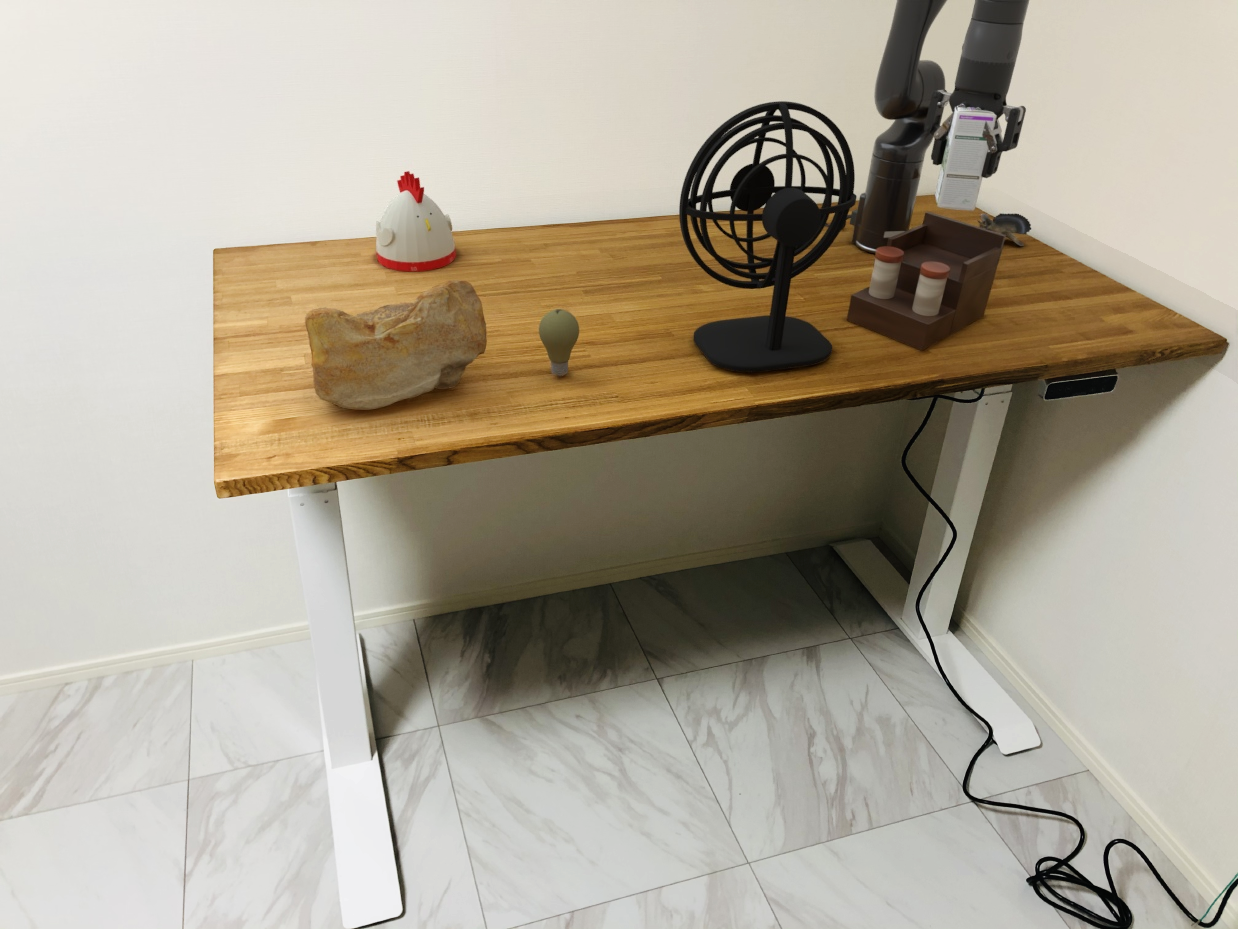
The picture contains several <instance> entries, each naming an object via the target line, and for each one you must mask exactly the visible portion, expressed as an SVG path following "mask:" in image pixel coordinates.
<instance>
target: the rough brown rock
mask: <svg viewBox="0 0 1238 929" xmlns="http://www.w3.org/2000/svg"><path fill="white" fill-rule="evenodd" d="M483 308H484V307H483V302H482V300H481V297H480V296H479V295H478V293H477V291H476V290H475V288H474V286H473V283H471V282H470V281H467V280H463V279H451V280H448V281H445V282H441V283H437V284H435V285H433V286H432V287H431V288H429V289H427V290H425V291H423V292H421V293H420V294H419V295H418V296H417V297H416V299H415V300H414V301H413V302H399V303H393V304H386V305H383V306H379V307H378V308H376V309H372V310H368V311H364V312H362V313H358V314H356V315H353V314H349V313H347V312H345V311H343V310H340V309H338V308H337V309H336V308H330V307H318V308H312V309H311V310H309V311H308V312H307V313H306V315H305V316H304V324H305V329H306V332H307V335H308V336H307V337H308V343H309V348H310V353H311V368H312V373H313V374H312V376H313V378H312V379H313V389H314V391H315V395H316V396H317V397H318V398H319V399H320V400H322V401H323V402H327V403H330V404H334V405H337V406H338V407H340V408H343V409H348V410H360V411H361V410H366V411H370V410H376V409H381V408H384V407H388V406H391V405H393V404H395V403H398V402H400V401H403V400H406V399H412V398H417V397H419V396H420V395H423V394H426V393H429V392H431V391H433V390H434V389H438V390H445V389H452V388H455V387H456V386H457V385H458V384H459V383H460V381H461V380H462V377H463V375H464V372H465V371H466V368H467V366H469V365H470V364H472V363H473V362H474V360H475V359H477V357H478V356H481V355H483V354H485V352H486V349H487V343H488V338H487V323H486V320H485V315H484V309H483Z"/></svg>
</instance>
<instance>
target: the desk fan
mask: <svg viewBox="0 0 1238 929" xmlns="http://www.w3.org/2000/svg"><path fill="white" fill-rule="evenodd" d="M777 111H779V113H780V115H779V114H775V113H776V112H777ZM790 111H798V112H801V113H805V114H808V115H811V116H813V117H815V118H816V119H818V120H819V121H820V122H822V123H823V124H824V125H825V126H826V127H827V128H828V129H829V130H830V132H831V133H832V134H833V135H834V137H835V139H836V141H837V143H838V145H839V147H840V150H841V153H842V156H841V154H840V152H839V150H838V149H837V148H836V146H835V144H834V143H833V142H832V141H831V140H830V139H829V138H828V137H827V136H826V135H824V134H823V133H821V132H819V130H817V129H815V128H813V127H810V126H809V125H807V124H806V123H804V122H802V121H800V120H799V119H796V118H794V117H791V114H790ZM763 113H765V114H764V115H761V116H757V115H760V114H763ZM754 116H757V117H754ZM753 117H754V118H753ZM750 118H751V119H750ZM747 119H748V120H747ZM745 120H746V121H745ZM760 124H761V125H760ZM758 125H760V127H758V128H755V129H753V130H751V131H749V132H748V133H746V134H744V135H743V136H742V137H740V138H739V139H737V140H736V141H734V143H733V144H731V145H730V146H729V147H728V148H727V149H726V150H725V151H724V153H722V155H721V156H720V157H719V159H717V161H716V163H715V165H714V166H713V167H712V169H711V171H710V173H709V175H708V177H707V179H706V181H705V184H704V187H703V190H702V192H701V193H702V194H698V193H699V188H700V184H701V182H702V179H703V176H704V174H705V172H706V170H707V168H708V166H709V164H710V163H711V161H712V160H713V159H714V157H715V156H716V154H717V153H718V152H719V151H720V149H721V148H722V147H723V146H724V145H725V144H726V143H727V142H729V141H730V140H731V139H732V138H734V137H735V136H736V135H738V134H740V133H741V132H743V131H745V130H747V129H749V128H751V127H755V126H758ZM779 130H784V140H785V142H784V141H783V140H780V139H778V138H774V137H767V133H770V132H774V131H779ZM793 130H796V131H797V130H798V131H802V132H805V133H808V134H809V135H810V136H811V137H812V138H813V139H814V141H815V142H816V143H817V145H818V148H819V149H820V151H821V153H822V156H823V159H824V162H825V168H826V169H825V170H826V171H825V170H824V169H823V168H822V166H821V165H820V164H818V162H816V161H815V160H813V159H811V158H810V157H808V156H806V155H803V154H800V153H799V154H798V152H797V151H796V150H795V149H794V132H793ZM764 143H774V144H779V145H781V146H783V147H785V153H781V154H777V155H773V156H771V157H769V158H766V159H764V160H763V161H761V156H762V152H763V148H764ZM753 144H756V145H755V149H754V153H753V160H752V163H748V164H746V165H744V166H743V167H742V168H740V169H739V170H738V171H737V172H736V173H735V175H733V178H732V179H731V182H730V186H729V189H724V190H718V191H714V188H715V183H716V181H717V178H718V176H719V174H720V172H721V170H722V169H723V167H724V166H725V165H726V163H727V162H728V161H729V160H730V159H731V157H733V156H734V155H735V154H737V153H738V152H739V151H740V150H742V149H744V148H746V147H749V146H750V145H753ZM831 155H832V157H833V159H834V161H835V165H836V168H837V172H838V176H839V177H838V178H839V179H838V180H839V188H835V187H834V186H835V185H834V184H835V172H834V170H835V169H834V164H833V159H832V157H831ZM842 157H843V158H842ZM794 159H795V160H796V163H797V165H798V168H799V173H800V185H793V177H794V176H793V173H794ZM781 160H785V176H784V177H785V178H784V185H776V183H775V182H776V181H775V176H774V174H773V172H772V170H771V168H770V167H769V166H768V165H771V163H774V162H777V161H781ZM843 160H844V161H843ZM803 161H806V162H807V163H810V164H811V165H812V166H814V167H815V168H816V169H817V171H818V172H819V174H820V175H821V177H822V179H823V182H824V184H825V187H824V186H811V185H810V186H809V185H807V186H806V184H807V183H806V180H807V179H806V171H805V170H806V169H805V167H804V162H803ZM855 175H856V174H855V163H854V158H853V155H852V151H851V147H850V145H849V143H848V141H847V138H846V136H845V135H844V133H843V132H842V131H841V129H840V128H839V127H838V126H837V124H836V123H835V122H834V121H832V120H831V118H829V117H828V116H827V115H826V114H824V113H822V112H821V111H819V110H817V109H815V108H813V107H811V106H809V105H806V104H803V103H800V102H794V101H786V100H785V101H782V100H781V101H780V100H779V101H770V102H765V103H760V104H756V105H754V106H751V107H748V108H746V109H744V110H741V111H740V112H738V113H736V114H735V115H733V116H731V117H729V118H728V119H727V120H726V121H725V122H723V123H722V124H721V125H719V126H718V127H717V128H716V129H715V130H714V131H713V132H712V133H711V134H710V135H709V136H708V137H707V138H706V140H705V141H704V143H703V144H702V145H701V146H700V148H699V149H698V151H697V152H696V153H695V155H694V157H693V159H692V161H691V163H690V165H689V167H688V169H687V172H686V175H685V177H684V179H683V183H682V187H681V192H680V198H679V206H678V207H679V208H678V209H679V211H678V216H679V224H680V225H679V226H680V231H681V236H682V239H683V242H684V244H685V247H686V249H687V250H688V253H689V255H690V256H691V258H692V259H693V260H694V261H695V263H696V264H697V265H698V266H699V267H700V268H701V269H702V270H703V271H704V272H705V273H706V274H707V275H708V276H710V277H711V278H713V279H714V280H716V281H717V282H720V283H721V284H723V285H726V286H730V287H733V288H737V289H744V290H745V289H746V290H760V289H766V288H770V287H773V290H772V298H771V304H770V313H769V315H757V316H749V317H739V318H731V319H722V320H721V319H720V320H715V321H711V322H707V323H705V324H703V325H700V326H699V327H697V328H696V329H695V331H694V332H693V343H694V344H695V346H696V347H697V348H698V349H699V350H700V352H701V353H702V354H703V355H704V358H706V359H707V361H708V362H710V364H712V365H714V366H715V367H717V368H720V369H724V370H727V371H731V372H736V373H737V372H739V373H763V372H771V371H780V370H786V369H795V368H802V367H808V366H815V365H817V364H820V363H823V362H825V361H827V360H829V358H830V357H831V355H832V352H833V345H832V342H831V341H830V340H829V339H828V338H827V337H826V336H824V334H822V332H820V331H819V330H818V329H817V328H816V327H815V326H814V325H812V324H811V323H810V322H808V321H806V320H804V319H801V318H798V317H793V316H788V315H787V310H788V302H789V295H790V289H791V283H792V282H791V281H792V279H794V278H796V277H797V276H799V275H800V274H802V273H804V272H805V271H806V270H808V269H809V268H810V267H812V266H813V265H814V264H815V263H816V262H817V261H818V260H820V259H821V257H823V255H824V254H825V253H826V252H827V251H828V250H829V248H830V247H831V246H832V244H833V243H834V241H835V240H836V238H837V237H838V236H839V234H840V232H841V231H842V229H841V228H842V227H843V225H844V222H845V220H846V218H847V215H849V212H850V209H851V208H853V207H854V206H855V205H856V202H857V195H856V194H855V193H854V191H855ZM775 185H776V186H775ZM808 194H815V195H816V194H817V195H824V197H823V202H822V205H821V207H819V205H818V204H817V203H816V202H815V200H813V199H812V197H810V196H809V195H808ZM833 196H834V197H838V200H837V203H836V204H835V205H832V203H833ZM723 198H730V200H731V203H730V207H729V212H728V213H727V212H715V211H714V207H713V200H716V199H723ZM697 204H699V209H697ZM762 207H763V210H762V212H761V213H755V211H757V210H759V209H761V208H762ZM736 209H738V210H739V211H742V212H746V213H736ZM831 214H833V217H832V219H831V221H830V223H829V224H828V225H829V227H827V229H826V231H825V232H824V234H823V235H822V236H821V238H820V239H819V240H818V242H817V243H816V244H815V245H814V246H813V247H812V248H811V249H810V250H809V251H808V252H807V253H806V254H804V255H803V256H802V257H800V258H799V259H798V260H796V261H795V262H794V260H795V257H797V256H799V255H800V254H802V253H803V252H804V251H806V250H807V249H808V248H809V247H810V246H812V244H813V243H814V242H816V240H817V239H818V237H819V236H820V235H821V234H822V231H823V230H824V228H825V227H826V226H825V224H827V222H828V219H829V216H830V215H831ZM688 216H689V218H690V222H691V226H692V230H693V232H694V235H695V236H696V239H697V240H698V242H699V243H700V246H702V248H703V249H704V250H705V251H706V252H707V253H708V254H709V255H710V256H711V257H712V258H713V259H714V260H715V261H716V262H717V263H718V264H719V265H720V266H721V267H723V268H724V270H726V271H728V272H729V273H731V274H732V275H735V276H738V277H740V278H744V279H748V280H741V279H740V280H739V279H734V278H730V277H727V276H725V275H722V274H720V273H718V272H717V271H715V270H714V269H712V268H711V267H709V266H708V265H707V264H706V263H705V261H704V260H703V259H702V257H700V255H699V254H698V251H697V249H696V248H695V245H694V243H693V240H692V238H691V234H690V230H689V222H688ZM698 219H699V220H698ZM707 220H711V221H712V222H713V224H714V226H715V227H716V228H717V229H718V230H719V231H720V232H721V233H722V234H723V235H725V236H726V237H727V238H729V239H731V240H734V243H735V245H736V246H737V247H738V248H739V250H741V252H743V253H744V254H745V255H746V260H747V262H738V261H733V260H731V259H727V258H725V257H723V256H721V255H719V254H718V253H717V251H716V249H715V248H714V245H713V244H712V241H711V239H710V236H709V231H708V224H707ZM698 221H699V222H698ZM718 221H723V222H724V221H725V222H729V229H730V233H729V232H727V231H726V230H725V229H724V228H723V227H722V226H721V225H720V223H719V222H718ZM846 221H847V220H846ZM735 222H746V237H740V236H738V235H737V232H736V226H735ZM754 222H761V223H762V226H763V229H764V231H765V232H766V233H765V234H762V235H759V236H755V237H754ZM771 237H772V238H773V239H774V240H775V241H776V245H775V249H774V252H773V257H764V256H763V257H762V256H759V255H756V254H755V253H754V243H755V242H756V243H757V242H760V241H764V240H767V239H770V238H771ZM742 243H746V248H745V247H744V246H743V244H742ZM755 261H757V262H755ZM766 268H769V269H768V271H767V272H757V270H760V269H766ZM745 270H746V271H745Z"/></svg>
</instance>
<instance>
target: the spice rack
mask: <svg viewBox="0 0 1238 929" xmlns="http://www.w3.org/2000/svg"><path fill="white" fill-rule="evenodd" d="M1006 238H1007V237H1006V235H1003V234H1000V233H997V232H994V231H990V230H987V229H984V228H980V226H977V225H973V224H970V223H967V222H963V221H961V220H958V219H954V218H951V217H947V216H944V215H942V214H938V213H934V212H931V211H925V212H924V215H923V220H922V224H920V225H917V226H915V227H912V228H909V230H907V231H905V232H902V233H900V234H897V235H895V236H892V237H890V238H888V243H887V246H883V247H879V248H877V249H876V254H874V255H875V256H874V264H873V268H872V269H873V270H872V274H871V279H870V283H869V286H867V287H865V288H862V289H861V290H859V291H856V292H854V293H852V294H851V295H850V301H849V305H848V310H847V311H848V312H847V317H846V321H848V322H850V323H853V324H855V325H858V326H859V327H863V328H864V329H867V330H870V331H872V332H874V333H877V334H879V335H882V336H885V337H887V338H889V339H892V340H894V341H897V342H899V343H902V344H905V345H906V346H909V347H912V348H915V349H917V350H919V351H925V350H926V349H928V348H930V347H932V346H933V345H935V344H937V343H939V342H941V341H942V340H944V339H946V338H948V337H950V336H951V335H953V334H955V333H957V332H959V331H960V330H963V329H964V328H967V326H969V325H972V324H973V323H975V322H977V321H979V320H980V319H982V318H984V317H985V313H986V309H987V306H988V303H989V298H990V294H991V292H992V287H993V284H994V280H995V277H996V273H997V270H998V266H999V263H1000V259H1001V256H1002V252H1003V248H1004V245H1005V241H1006Z"/></svg>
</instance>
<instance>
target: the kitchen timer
mask: <svg viewBox="0 0 1238 929" xmlns="http://www.w3.org/2000/svg"><path fill="white" fill-rule="evenodd" d="M403 174H404V175H400V176H399V177H400V179H397V180H396V182H397V183H396V184H397V188H398V191H399V193H398V194H397V195H395V196H394V197H393V198H392V199H391V200H390V202H388V204H387V206H386V207H385V208H384V211H383V213H382V215H381V217H380V220H379V221H376V224H375V232H376V233H375V234H376V241H375V249H376V257H377V258H376V259H377V262H378V263H379V264H380V265H381V266H383V267H385V268H387V269H391V270H395V271H401V272H425V271H432V270H436V269H440V268H443V267H445V266H448V265H450V264H451V263H452V262H454V260H455V259H456V257H457V253H456V252H457V251H456V244H455V239H454V236H453V233H452V231H453V224H452V220H451V216H450V214H448V213H447V214H444V212H443V211H442V209H441V208H440V206H438V204H437V203H436V202H435V201H434V200H433V199H432V198H431V197H429V195H427V194H425V187H424V186H422V187H421V180H420V176H419V177H415V174H414V173H411V172H410V170H408V171H404V172H403Z"/></svg>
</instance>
